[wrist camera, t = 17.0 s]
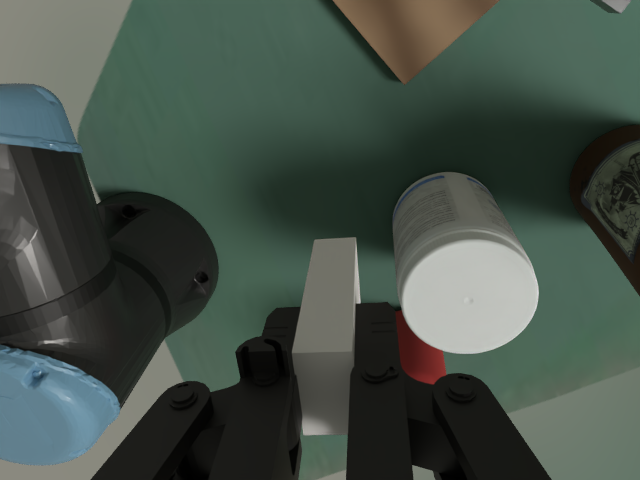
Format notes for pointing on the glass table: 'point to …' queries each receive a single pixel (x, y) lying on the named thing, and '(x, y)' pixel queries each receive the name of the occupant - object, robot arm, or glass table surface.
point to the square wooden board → (412, 28)
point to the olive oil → (612, 195)
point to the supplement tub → (460, 266)
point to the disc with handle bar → (612, 5)
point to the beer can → (418, 354)
